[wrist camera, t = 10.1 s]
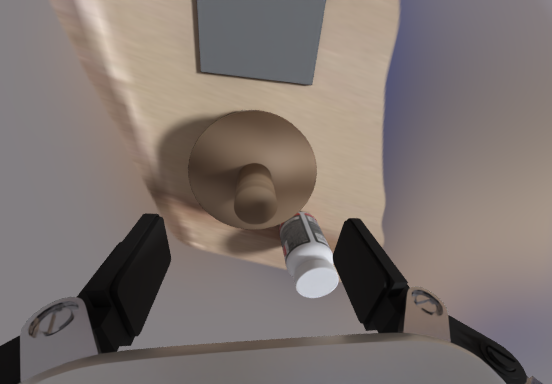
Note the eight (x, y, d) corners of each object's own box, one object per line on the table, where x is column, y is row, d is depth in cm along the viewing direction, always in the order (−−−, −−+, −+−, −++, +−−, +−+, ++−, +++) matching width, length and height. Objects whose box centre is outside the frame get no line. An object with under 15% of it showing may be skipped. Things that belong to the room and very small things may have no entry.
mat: (192, -102, 15) (190, -109, 14) (335, -68, 17) (337, -73, 16) (202, 71, 20) (201, 71, 19) (310, 84, 22) (312, 85, 21)
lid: (184, 103, 17) (154, 112, 11) (325, 116, 18) (354, 130, 13) (196, 223, 22) (179, 266, 17) (303, 224, 24) (318, 265, 19)
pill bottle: (278, 242, 31) (288, 303, 23) (279, 210, 29) (291, 266, 20) (314, 240, 32) (338, 298, 23) (318, 209, 29) (347, 262, 20)
